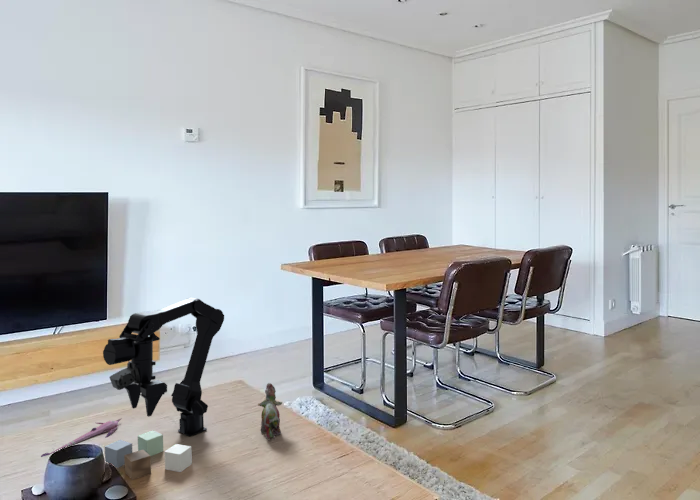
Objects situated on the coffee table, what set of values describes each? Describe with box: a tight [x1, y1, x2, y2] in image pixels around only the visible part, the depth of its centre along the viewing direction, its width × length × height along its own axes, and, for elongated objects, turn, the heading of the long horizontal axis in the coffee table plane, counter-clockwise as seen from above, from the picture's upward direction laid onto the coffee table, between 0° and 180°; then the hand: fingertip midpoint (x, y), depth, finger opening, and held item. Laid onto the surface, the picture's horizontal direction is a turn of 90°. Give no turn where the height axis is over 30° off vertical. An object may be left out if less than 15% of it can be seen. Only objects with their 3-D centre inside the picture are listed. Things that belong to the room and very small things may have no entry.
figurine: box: [257, 382, 283, 440], centre depth 172 cm, size 8×12×15 cm, turn 174°
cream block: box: [163, 443, 193, 473], centre depth 151 cm, size 5×5×5 cm
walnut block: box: [124, 450, 152, 481], centre depth 147 cm, size 5×5×5 cm
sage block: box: [137, 430, 164, 457], centre depth 160 cm, size 5×5×5 cm
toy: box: [40, 417, 123, 458], centre depth 169 cm, size 28×2×10 cm
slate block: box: [104, 439, 133, 469], centre depth 154 cm, size 5×5×5 cm
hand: (141, 412), depth 159 cm, fingers open, 9 cm apart
